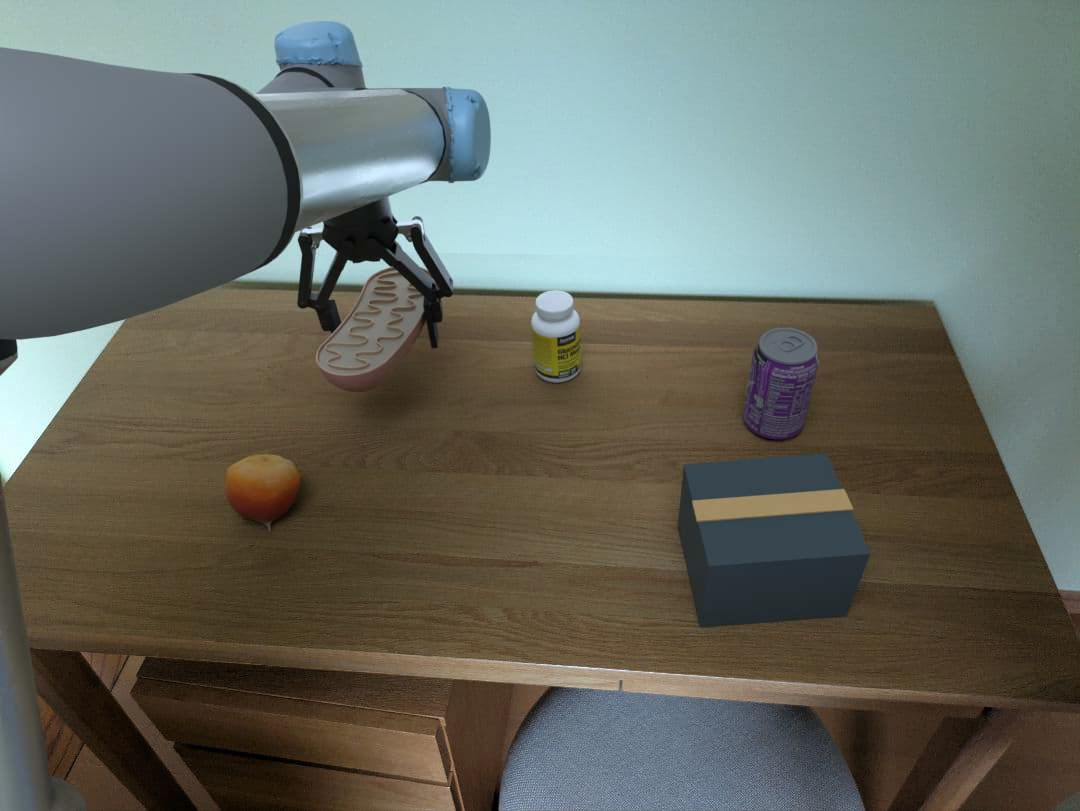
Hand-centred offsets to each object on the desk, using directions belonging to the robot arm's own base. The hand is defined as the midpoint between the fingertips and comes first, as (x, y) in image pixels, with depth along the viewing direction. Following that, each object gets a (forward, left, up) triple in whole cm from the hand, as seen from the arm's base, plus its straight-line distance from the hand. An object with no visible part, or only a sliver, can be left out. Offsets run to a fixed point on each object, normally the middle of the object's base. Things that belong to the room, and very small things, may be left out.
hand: (388, 345), depth 97 cm
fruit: (-13, -19, -7) cm, 24 cm away
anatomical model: (0, 0, 0) cm, 0 cm away
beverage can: (+46, -12, -7) cm, 48 cm away
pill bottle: (+21, +1, -7) cm, 22 cm away
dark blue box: (+39, -32, -7) cm, 51 cm away
